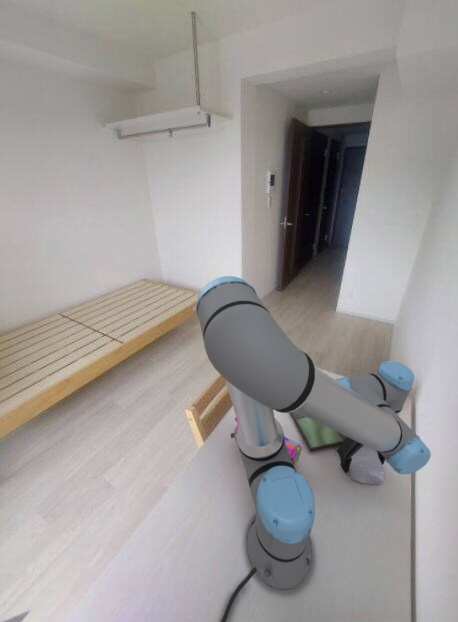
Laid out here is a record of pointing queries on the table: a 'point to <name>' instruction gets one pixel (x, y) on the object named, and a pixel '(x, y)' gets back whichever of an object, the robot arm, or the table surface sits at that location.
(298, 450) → the pencil case
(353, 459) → the stone block
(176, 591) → the table surface
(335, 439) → the board
